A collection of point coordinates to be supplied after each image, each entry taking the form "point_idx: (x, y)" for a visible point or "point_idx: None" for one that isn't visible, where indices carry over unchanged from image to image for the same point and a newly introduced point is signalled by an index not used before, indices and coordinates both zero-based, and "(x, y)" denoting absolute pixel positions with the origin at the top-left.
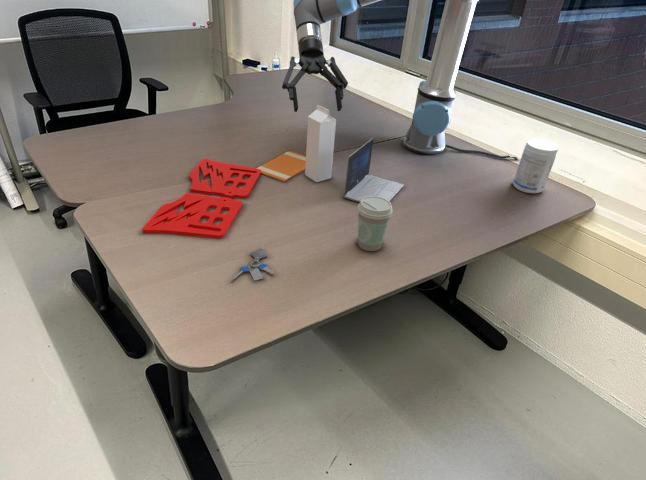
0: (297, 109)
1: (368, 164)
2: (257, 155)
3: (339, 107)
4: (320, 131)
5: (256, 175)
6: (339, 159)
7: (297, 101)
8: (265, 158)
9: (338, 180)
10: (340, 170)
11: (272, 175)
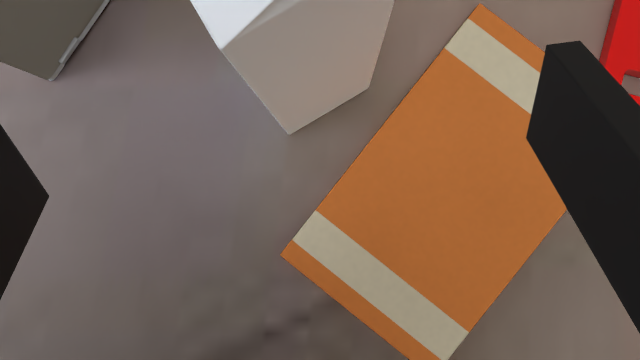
0: (537, 91)
1: (19, 43)
2: (610, 327)
3: (3, 130)
4: None
5: (623, 42)
6: (164, 286)
7: (584, 90)
8: (566, 288)
9: (208, 37)
10: (180, 150)
11: (538, 58)
